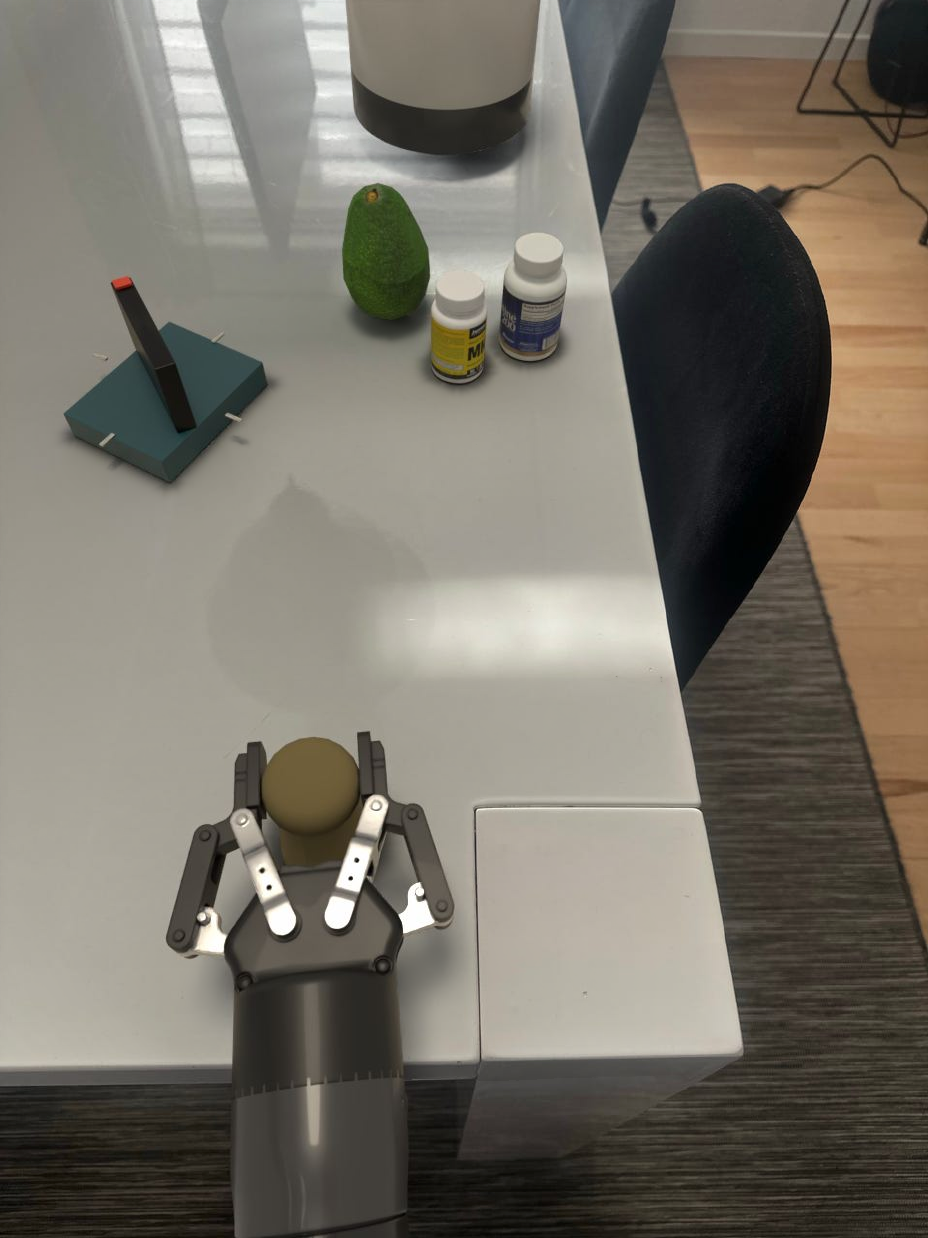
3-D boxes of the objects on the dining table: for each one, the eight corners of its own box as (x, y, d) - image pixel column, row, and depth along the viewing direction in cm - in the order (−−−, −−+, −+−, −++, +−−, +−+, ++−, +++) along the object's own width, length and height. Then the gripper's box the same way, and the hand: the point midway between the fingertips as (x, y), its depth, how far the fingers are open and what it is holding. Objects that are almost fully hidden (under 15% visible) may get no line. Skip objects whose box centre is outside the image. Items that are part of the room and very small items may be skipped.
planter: (537, 100, 98) (556, -87, 83) (514, 193, 88) (530, 0, 73) (377, 80, 99) (367, -107, 84) (336, 170, 89) (317, -25, 74)
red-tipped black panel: (197, 427, 66) (174, 360, 60) (177, 433, 65) (153, 367, 60) (153, 342, 71) (129, 273, 65) (135, 348, 70) (108, 279, 65)
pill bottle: (494, 324, 77) (502, 227, 69) (551, 322, 78) (565, 225, 69) (502, 364, 74) (511, 268, 66) (561, 361, 75) (577, 266, 67)
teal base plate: (187, 505, 65) (178, 483, 63) (40, 432, 69) (27, 408, 66) (300, 387, 72) (295, 363, 70) (161, 326, 76) (153, 302, 73)
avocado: (340, 291, 79) (326, 166, 69) (420, 280, 80) (418, 156, 70) (355, 347, 75) (343, 224, 65) (440, 334, 76) (440, 211, 66)
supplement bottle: (473, 391, 73) (477, 310, 65) (422, 376, 73) (421, 295, 66) (491, 356, 75) (497, 274, 68) (442, 342, 76) (443, 260, 69)
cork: (324, 774, 54) (301, 699, 44) (398, 828, 52) (391, 762, 43) (259, 850, 51) (222, 786, 42) (335, 909, 49) (313, 857, 40)
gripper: (486, 1070, 34) (442, 698, 43) (125, 1119, 33) (156, 725, 42) (477, 1080, 40) (440, 755, 49) (174, 1122, 39) (193, 780, 48)
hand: (310, 743), depth 45 cm, fingers closed on cork, 5 cm apart
